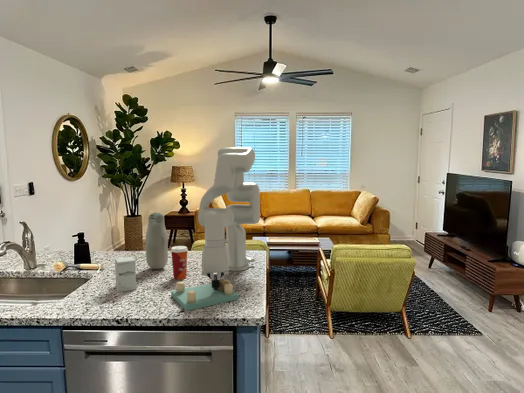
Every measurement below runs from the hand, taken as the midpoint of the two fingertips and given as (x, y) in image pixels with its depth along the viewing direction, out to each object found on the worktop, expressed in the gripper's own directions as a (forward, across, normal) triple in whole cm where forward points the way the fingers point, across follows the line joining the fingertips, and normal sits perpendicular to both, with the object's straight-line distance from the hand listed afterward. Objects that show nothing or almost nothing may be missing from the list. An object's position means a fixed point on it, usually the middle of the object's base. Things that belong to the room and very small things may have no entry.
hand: (215, 289), depth 143 cm
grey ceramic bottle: (+3, +26, -43) cm, 51 cm away
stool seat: (+3, +4, 0) cm, 5 cm away
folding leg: (+1, -2, -4) cm, 5 cm away
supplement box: (+3, +36, -17) cm, 40 cm away
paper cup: (+3, +15, -27) cm, 31 cm away
